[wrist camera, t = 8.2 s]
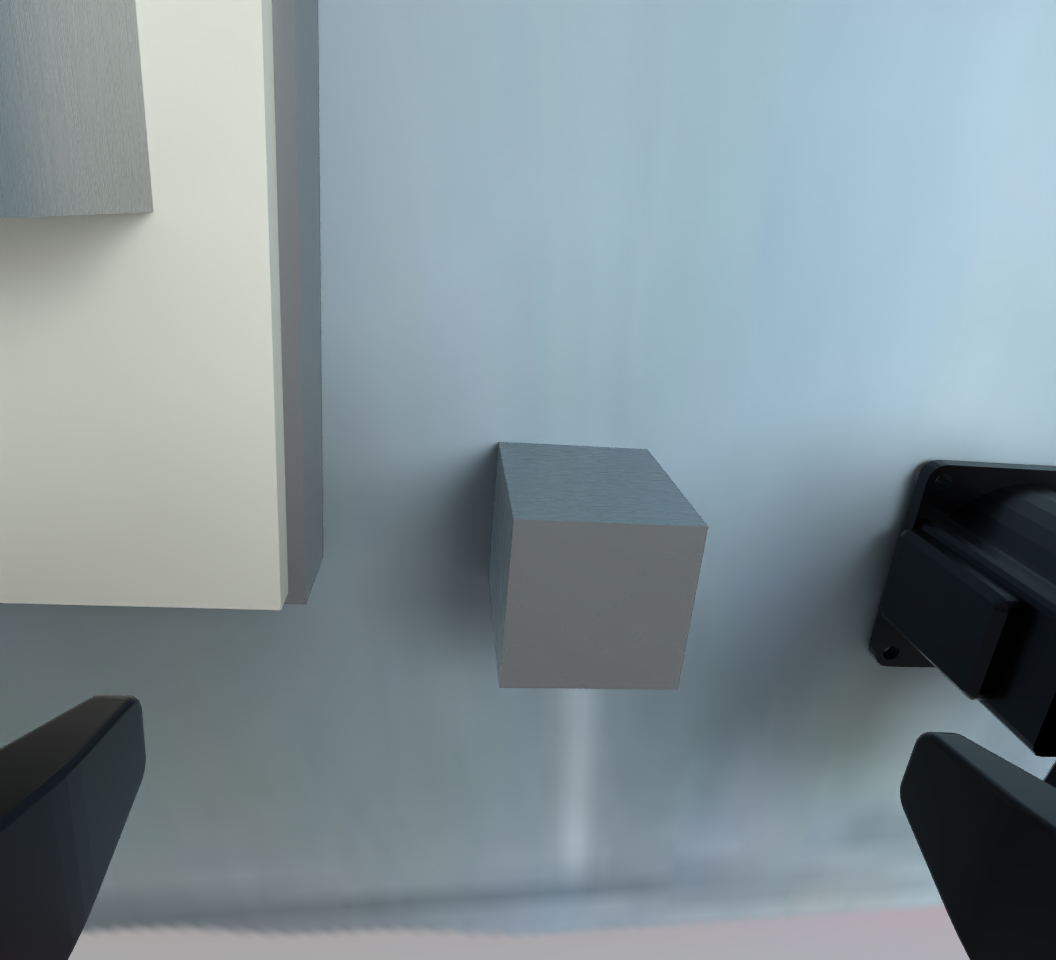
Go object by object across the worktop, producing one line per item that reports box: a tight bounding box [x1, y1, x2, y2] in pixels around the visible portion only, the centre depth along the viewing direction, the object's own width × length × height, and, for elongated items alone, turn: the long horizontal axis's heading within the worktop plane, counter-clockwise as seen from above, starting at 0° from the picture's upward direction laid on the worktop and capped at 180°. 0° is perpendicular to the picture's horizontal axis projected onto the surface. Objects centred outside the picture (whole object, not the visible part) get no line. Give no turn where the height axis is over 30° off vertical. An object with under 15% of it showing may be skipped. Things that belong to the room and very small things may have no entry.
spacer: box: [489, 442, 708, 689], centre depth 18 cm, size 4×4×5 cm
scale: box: [0, 0, 323, 610], centre depth 12 cm, size 9×17×8 cm, turn 175°
